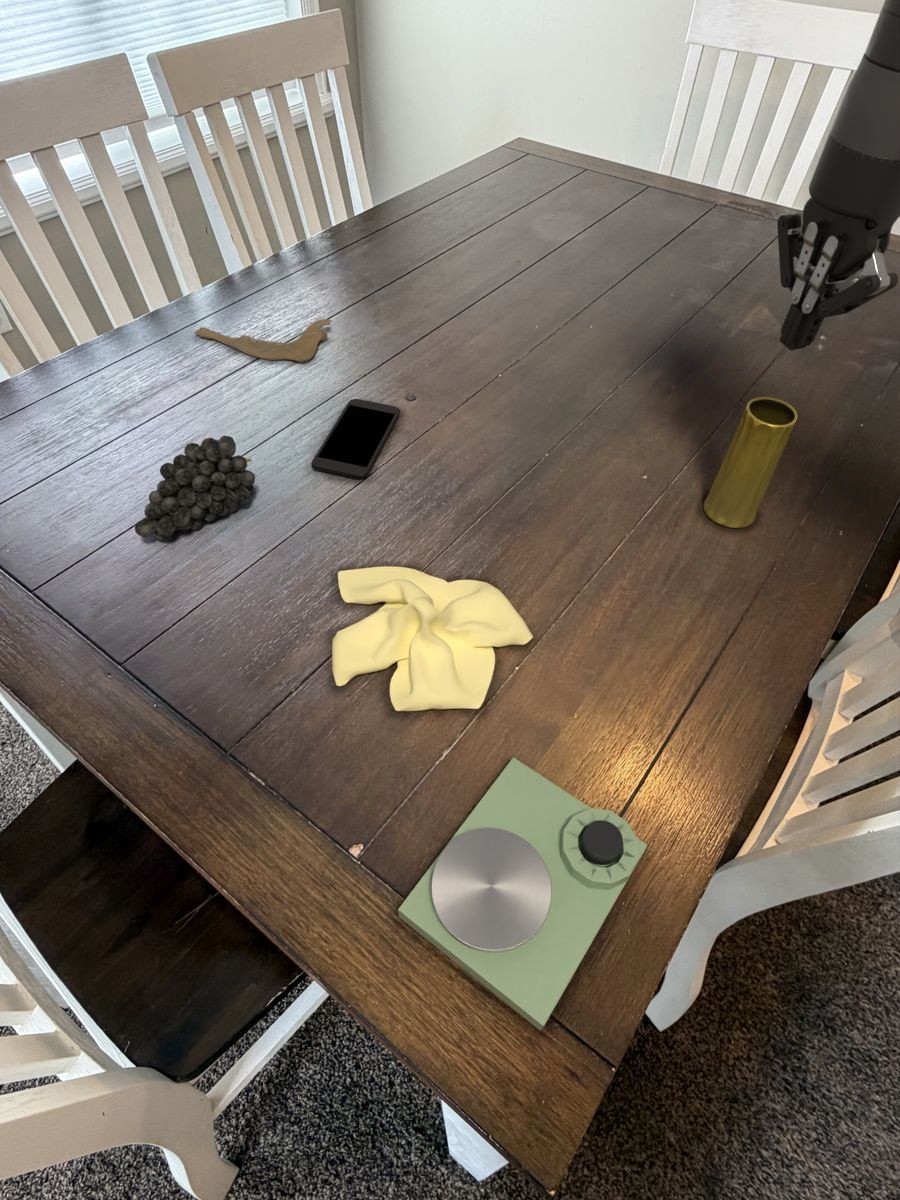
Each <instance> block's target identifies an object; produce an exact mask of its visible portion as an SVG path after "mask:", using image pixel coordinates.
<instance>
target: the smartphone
mask: <svg viewBox="0 0 900 1200" xmlns="http://www.w3.org/2000/svg"><path fill="white" fill-rule="evenodd" d="M400 415H401V410H400V408H399V407H397V406H395V405H390V404H385V403H381V402H375V401H371V400H365V399H360V398H352V399H350V400H349V401H348V402H347V404H346V405H345V407H344V408H343V410H342V411H341V413H340V415H339V416H338V418H337V419H336V421H335V422H334V424H333V426H332V428H331V429H330V431H329V432H328V434H327V436H326V437H325V439H324V440H323V442H322V444H321V446H320V447H319V449H318V451H317V452H316V454H315V455H314V457H313V459H312V460H311V467H312V469H313V470H315V471H316V470H317V471H320V472H324V473H330V474H334V475H339V476H343V477H349V478H354V479H357V480H363V479H366V478H367V477H368V476H369V474H370V472H371V470H372V469H373V467H374V465H375V463H376V461H377V459H378V457H379V456H380V454H381V452H382V449H383V448H384V446H385V445H386V442H387V441H388V439H389V437H390V435H391V432H392V431H393V429H394V427H395V425H396V423H397V421H398V419H399V418H400Z"/></svg>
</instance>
